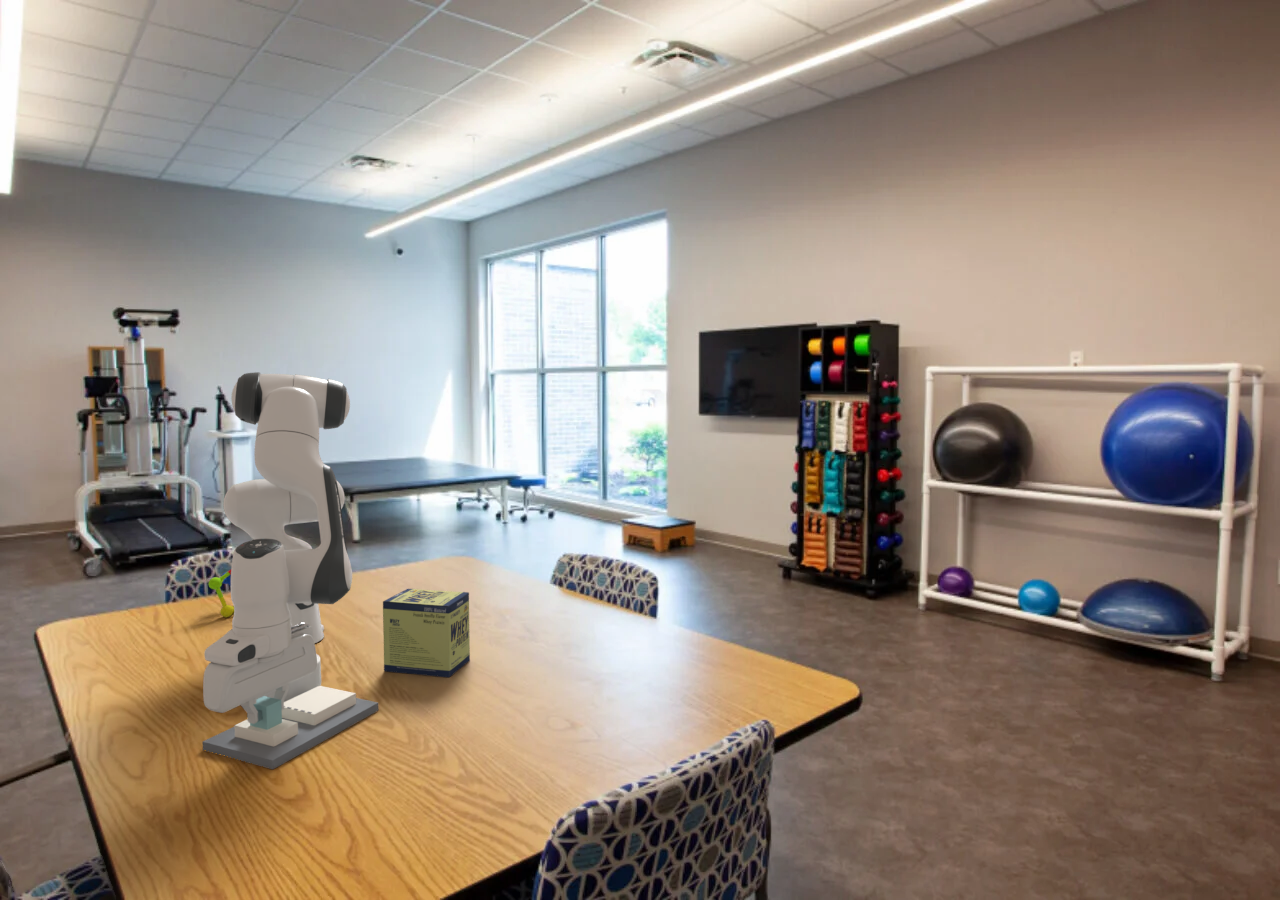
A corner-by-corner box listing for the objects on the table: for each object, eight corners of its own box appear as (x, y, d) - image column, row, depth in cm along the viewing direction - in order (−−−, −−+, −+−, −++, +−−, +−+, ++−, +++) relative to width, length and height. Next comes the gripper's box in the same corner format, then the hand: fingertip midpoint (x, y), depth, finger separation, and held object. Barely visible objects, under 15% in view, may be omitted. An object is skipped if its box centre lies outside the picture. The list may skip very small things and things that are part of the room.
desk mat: (202, 750, 129) (202, 741, 129) (314, 696, 151) (314, 688, 151) (272, 769, 123) (272, 760, 123) (378, 710, 145) (378, 702, 145)
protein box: (450, 678, 161) (449, 605, 159) (382, 672, 164) (380, 600, 162) (471, 660, 171) (470, 591, 170) (407, 655, 174) (405, 587, 173)
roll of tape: (238, 681, 159) (237, 655, 158) (320, 670, 165) (319, 645, 165) (231, 711, 145) (229, 683, 144) (321, 698, 151) (320, 670, 150)
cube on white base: (235, 736, 131) (233, 702, 130) (259, 724, 135) (258, 691, 135) (273, 746, 127) (272, 711, 127) (298, 733, 132) (296, 700, 131)
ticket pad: (276, 716, 139) (276, 705, 138) (319, 695, 148) (319, 685, 148) (314, 725, 135) (314, 713, 135) (356, 703, 144) (355, 692, 144)
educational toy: (264, 604, 216) (267, 551, 215) (275, 616, 205) (278, 560, 205) (201, 609, 206) (204, 553, 205) (209, 621, 196) (213, 563, 195)
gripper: (297, 617, 140) (300, 690, 142) (194, 654, 122) (199, 738, 123) (324, 621, 138) (326, 696, 139) (223, 660, 119) (227, 745, 121)
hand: (266, 716), depth 131 cm, fingers closed on cube on white base, 3 cm apart
